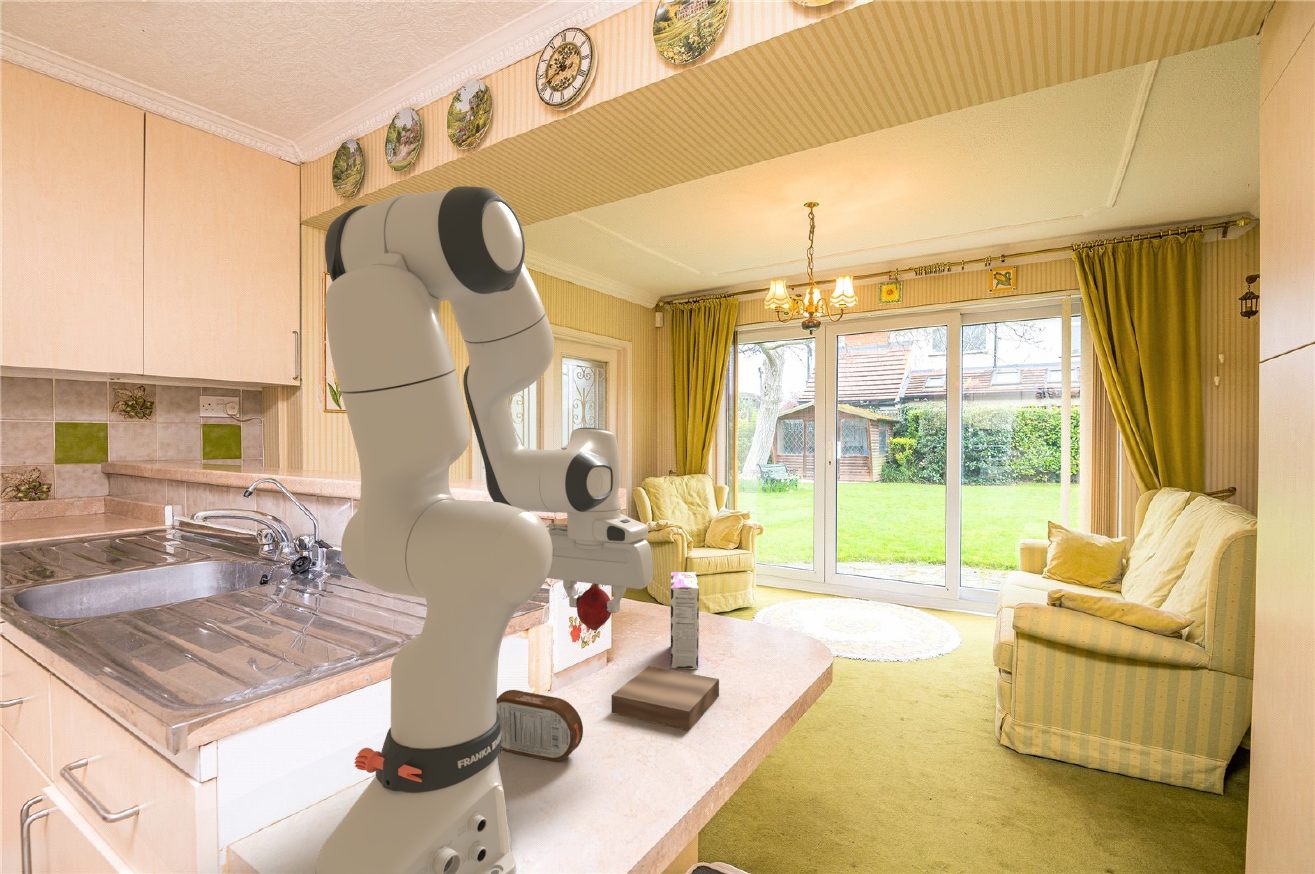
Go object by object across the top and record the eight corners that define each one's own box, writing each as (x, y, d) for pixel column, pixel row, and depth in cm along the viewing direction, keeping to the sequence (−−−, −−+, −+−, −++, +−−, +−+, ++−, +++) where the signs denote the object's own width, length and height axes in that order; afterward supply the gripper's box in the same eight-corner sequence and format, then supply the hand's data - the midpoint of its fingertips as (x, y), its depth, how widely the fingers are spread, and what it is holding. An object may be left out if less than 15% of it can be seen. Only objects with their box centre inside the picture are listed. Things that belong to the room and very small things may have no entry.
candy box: (670, 645, 132) (670, 570, 132) (697, 645, 132) (697, 571, 132) (669, 669, 118) (669, 586, 118) (699, 669, 118) (699, 586, 118)
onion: (606, 637, 95) (606, 587, 95) (572, 635, 96) (572, 585, 96) (615, 625, 101) (615, 578, 101) (583, 623, 102) (583, 577, 102)
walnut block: (689, 730, 93) (689, 711, 93) (611, 712, 99) (611, 694, 99) (719, 695, 106) (719, 678, 106) (648, 681, 112) (648, 665, 112)
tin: (584, 757, 85) (584, 699, 85) (573, 769, 82) (573, 708, 82) (495, 739, 90) (495, 684, 90) (482, 749, 87) (482, 692, 88)
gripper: (531, 524, 100) (531, 606, 100) (640, 532, 91) (640, 622, 91) (552, 519, 106) (553, 597, 106) (657, 527, 97) (657, 611, 97)
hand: (594, 609), depth 99 cm, fingers closed on onion, 6 cm apart
